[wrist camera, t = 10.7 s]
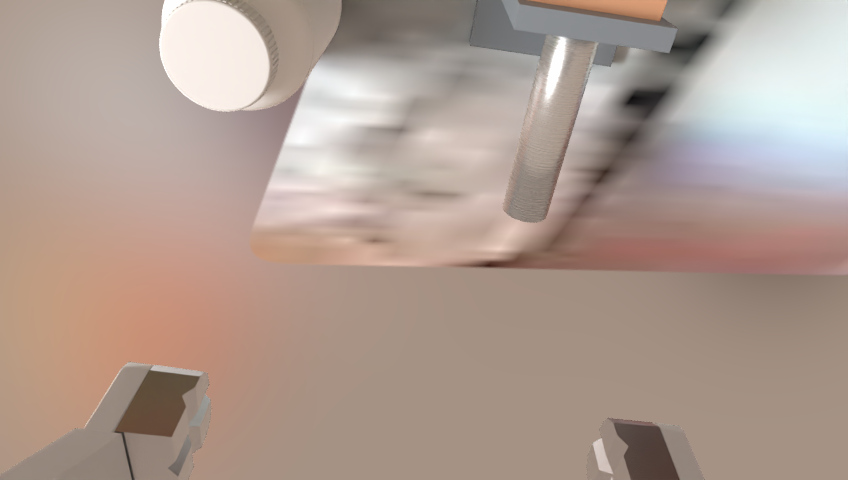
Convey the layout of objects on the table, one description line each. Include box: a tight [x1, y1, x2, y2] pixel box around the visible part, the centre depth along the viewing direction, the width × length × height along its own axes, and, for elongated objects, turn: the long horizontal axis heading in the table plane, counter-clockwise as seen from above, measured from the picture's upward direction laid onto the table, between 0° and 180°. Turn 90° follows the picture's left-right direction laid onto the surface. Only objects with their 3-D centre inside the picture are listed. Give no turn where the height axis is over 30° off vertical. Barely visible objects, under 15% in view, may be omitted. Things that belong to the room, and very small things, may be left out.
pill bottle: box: [159, 0, 342, 112], centre depth 33 cm, size 8×8×15 cm
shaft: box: [503, 34, 599, 222], centre depth 34 cm, size 18×3×3 cm, turn 172°
